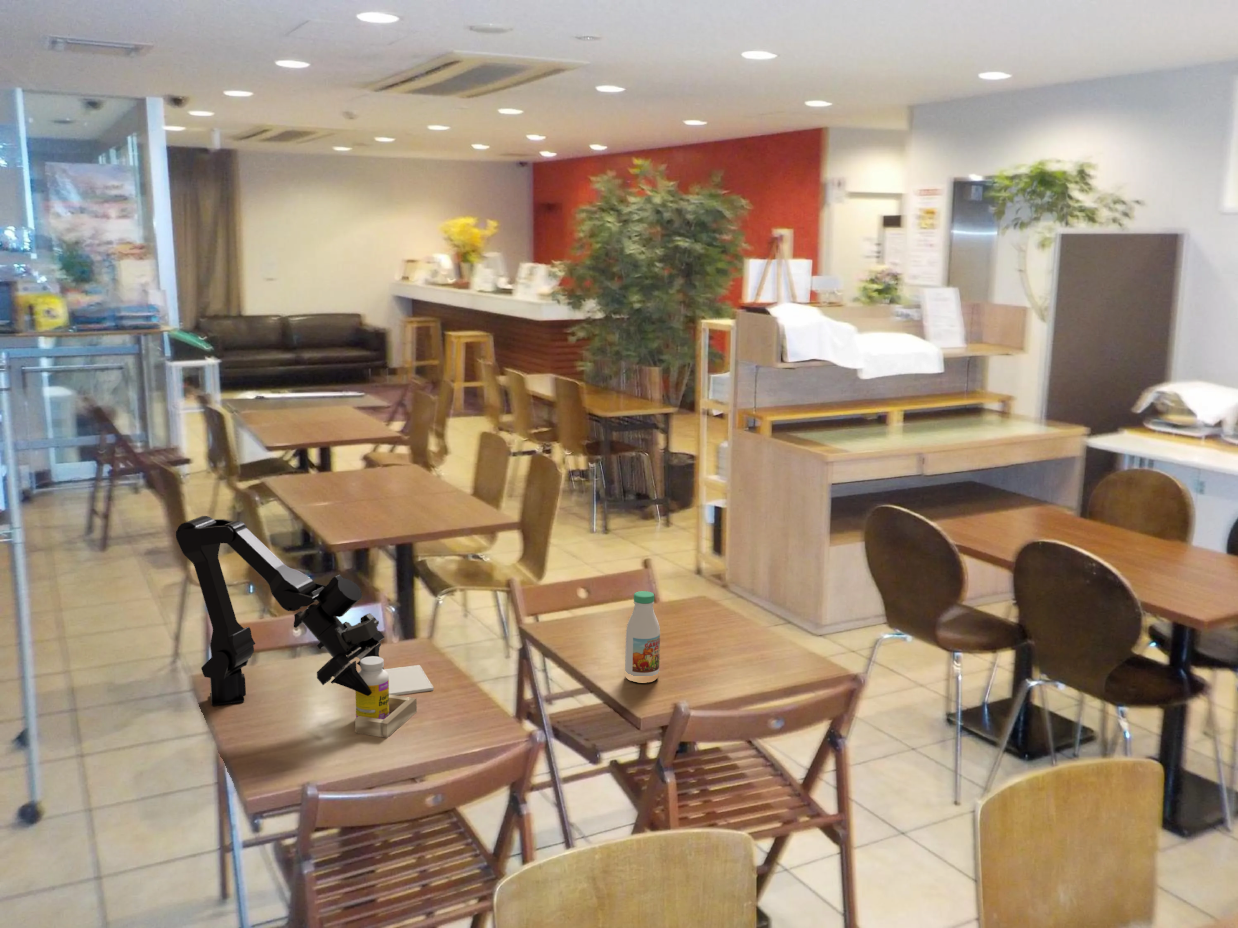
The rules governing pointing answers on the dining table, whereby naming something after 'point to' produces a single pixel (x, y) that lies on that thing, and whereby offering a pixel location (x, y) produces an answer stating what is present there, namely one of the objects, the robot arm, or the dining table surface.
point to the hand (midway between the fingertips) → (378, 687)
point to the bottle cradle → (388, 717)
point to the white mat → (408, 680)
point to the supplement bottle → (373, 689)
